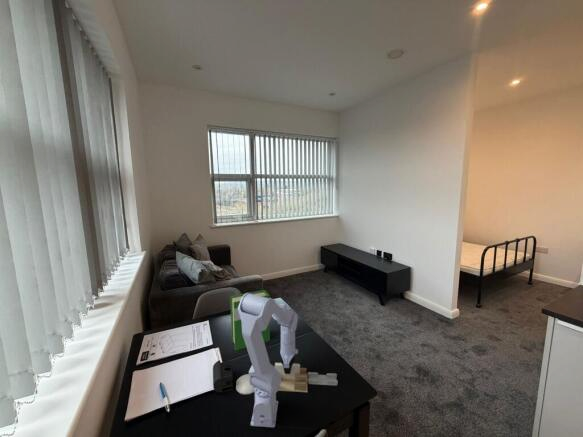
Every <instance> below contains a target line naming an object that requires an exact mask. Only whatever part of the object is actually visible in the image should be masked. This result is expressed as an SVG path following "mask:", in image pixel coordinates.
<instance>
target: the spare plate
mask: <svg viewBox="0 0 583 437" xmlns="http://www.w3.org/2000/svg"><path fill="white" fill-rule="evenodd" d="M235 390H236V391H237V392H238V393H239V394H240V395H251V394H253V393H255V390H254V389H253V385H250V383H249V373H248V374H247V373H246V374H244V375H241V376H240V377H239V378H237V380H236V382H235Z"/></svg>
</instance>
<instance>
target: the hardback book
mask: <svg viewBox="0 0 583 437" xmlns="http://www.w3.org/2000/svg"><path fill="white" fill-rule="evenodd" d="M250 293H251V294H254V295H258V296H262V297H266V298H271V296H270V294H269V293H268V292H267V290H265V289H263V290H258V291H251V292H250ZM244 294H245V293H241V294H236V295H230V328H231V330H230V331H231V343H232V344H233V343H234V351H235V352H236V351H238V350H243V349H247V347H246V344H245V341H244V338H243V335H242V321H241V318H240V315H239V312H238V306H239V303H240V300H241V298H242V297H243V295H244ZM270 326H271V322H269V324H268V326H267V328H266V330H264V331H261V332H262V336H263V340H264V343H266V342H269V341H271V327H270Z"/></svg>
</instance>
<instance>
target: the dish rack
mask: <svg viewBox="0 0 583 437" xmlns="http://www.w3.org/2000/svg"><path fill="white" fill-rule="evenodd" d="M273 366H274V367H275V365H273ZM279 391H281V392H292V393H293V392H298V393H308V373H307V368H306V367H300V374H295V379H285V378H281V384H280V387H279V390H278V391H277V392H279Z"/></svg>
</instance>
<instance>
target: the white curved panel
mask: <svg viewBox="0 0 583 437" xmlns="http://www.w3.org/2000/svg"><path fill="white" fill-rule="evenodd" d="M274 366H275V368H276V369H277V371H278V373H280V374H281V378H285V379H295V374H300V368H301V364H300V363H293V365H292V368H291V372H290V374H285V372H284V368H283V365H282V363H281V362H275V363H274Z"/></svg>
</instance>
